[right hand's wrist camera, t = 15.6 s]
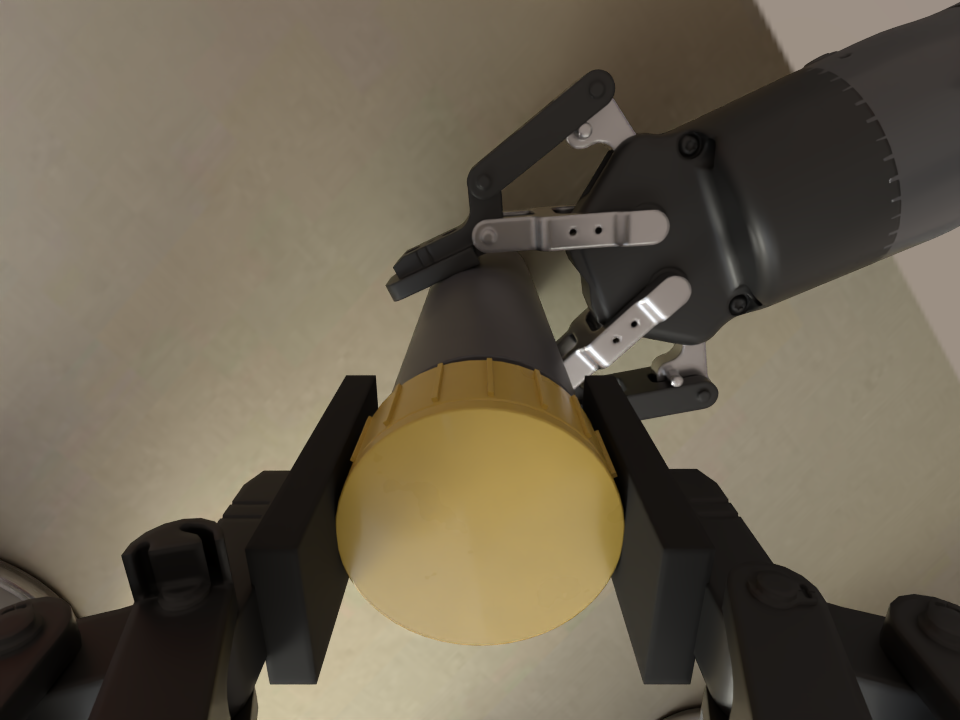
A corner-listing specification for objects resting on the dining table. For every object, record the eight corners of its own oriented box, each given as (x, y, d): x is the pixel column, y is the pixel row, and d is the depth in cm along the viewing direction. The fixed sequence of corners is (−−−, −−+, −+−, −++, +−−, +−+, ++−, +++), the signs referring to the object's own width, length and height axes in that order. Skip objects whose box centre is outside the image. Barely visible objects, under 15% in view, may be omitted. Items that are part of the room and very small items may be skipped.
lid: (641, 513, 13) (673, 587, 11) (433, 599, 14) (425, 683, 12) (538, 311, 11) (552, 350, 9) (308, 425, 12) (271, 486, 10)
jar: (433, 330, 29) (361, 599, 12) (434, 235, 28) (354, 387, 10) (526, 335, 29) (592, 609, 12) (535, 240, 28) (626, 401, 10)
